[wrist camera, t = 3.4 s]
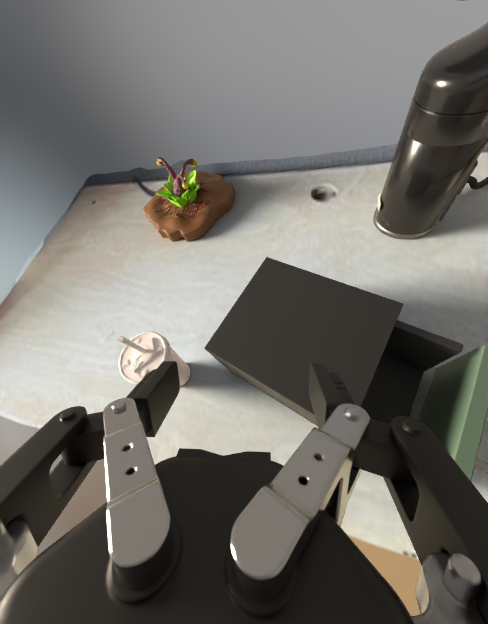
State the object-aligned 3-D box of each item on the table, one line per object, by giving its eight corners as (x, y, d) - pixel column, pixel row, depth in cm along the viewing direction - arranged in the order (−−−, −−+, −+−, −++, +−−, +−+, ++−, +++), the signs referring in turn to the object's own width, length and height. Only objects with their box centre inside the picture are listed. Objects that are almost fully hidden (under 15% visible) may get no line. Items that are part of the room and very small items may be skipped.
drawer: (492, 392, 26) (570, 374, 18) (464, 508, 22) (547, 546, 15) (328, 323, 34) (336, 290, 26) (288, 401, 30) (283, 390, 22)
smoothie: (205, 362, 36) (157, 325, 24) (185, 403, 34) (120, 385, 22) (173, 348, 38) (114, 308, 26) (152, 386, 36) (77, 361, 24)
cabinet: (374, 341, 32) (403, 303, 23) (333, 435, 28) (348, 435, 19) (274, 299, 38) (266, 257, 29) (230, 371, 34) (204, 348, 25)
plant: (192, 172, 61) (171, 123, 52) (247, 192, 53) (235, 137, 43) (136, 221, 57) (101, 177, 47) (186, 252, 48) (157, 206, 38)
